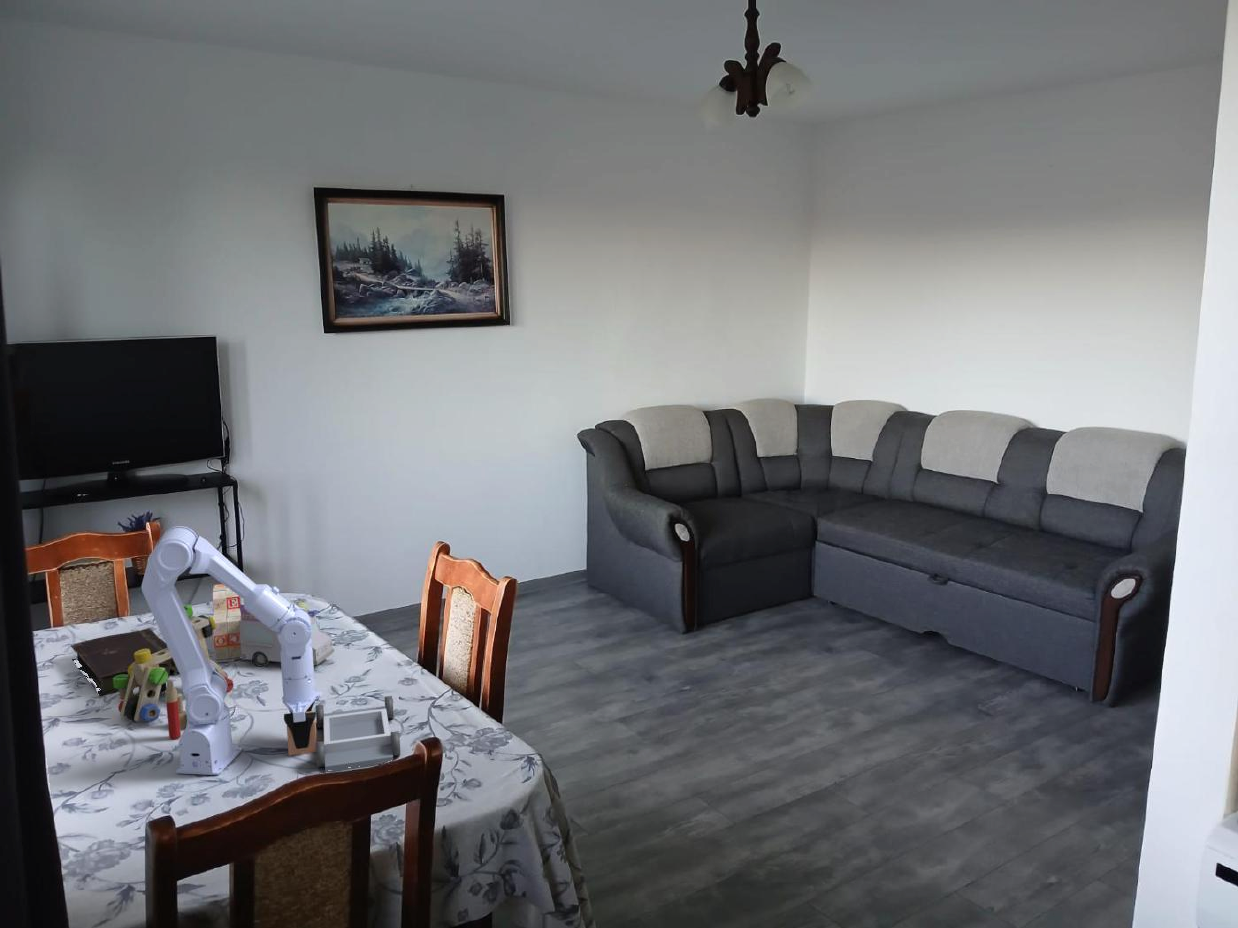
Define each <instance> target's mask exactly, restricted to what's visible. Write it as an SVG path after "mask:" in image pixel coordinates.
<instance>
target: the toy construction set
mask: <svg viewBox="0 0 1238 928" xmlns="http://www.w3.org/2000/svg"><path fill="white" fill-rule="evenodd" d="M183 606H184V608H185V611H186V613H187V615H188V618H189V620H190V622H191V624H192V627H193V629H194V631H195V633H196V636H197V638H198V640H199V642H200V645H201V647H202V649H203V651H204V654H205V656H206V658H207V660H208V661H209V662H211V663H212V664H213V666H214V668H215V670H216V671H217V672H218V673H219V674H220V675H222V676H223V677H224V678H225V680H226V682H227V692H226V694H228V693H230V692H232V690H233V689H234V686H235V685H234V681H233V680H232V679H231V678H229V677H228V675H227V672H226V671H224V669H223V668H222V667H220V665H219V664H218V663H216V662H215V661H214V660H212V659H211V658H210V654H209V652H208V646H207V643H206V639H208V638H210V637H212V635H213V634H214V629H215V628H216V624H215V621H214V620H213V616H206V615H204V614H200V615H197V616H196V615H194V611H193V608H192V605H191V604H183ZM134 657H135V661H136V662H133V663H132V665H130V666H129V668H128V675H129V676H130V679H129V676H128V675H126V674H121V675H117V676H115V677H114V678H113V685H114V688H116V689H119V692H118V696H119V697H118V698H119V700H120V702H119V703H118V707H117V708H118V711H119V713H120V714H119V716H120V717H125V718H126V719H127V720H129V721H130V722H133V723H139V722H147V723H151V722H155V721H156V720H158V719H159V718H160V717H159V716H160V714H161V709H160V708H159V707H158V703H159V697H161V696H162V694H163V693H164V692H165V694H164V695H165V704H166V706H165V707H166V716H167V726H168V738H169V740H171V741H173V740H174V741H175V740H178V739H180V737H181V735H182V733H181V730H185V729H186V726H187V714H186V711H185V710H184V704H183V695H182V693H181V692H178V690H177V689H176V688H175V682H174V680H173V679H170V678H169V677H168V673H167V672H166V671H165V668H162V667H159V663H161V662H165V663H166V664H167V665H169V668H170V669H171V670H174V671H177V673H179V671H178V669H177V667H176V664H175V662H174V660H173V658H172V656H171V653H170V651H169V649H168V647H167V648H165V649H163V650H161V651H158V652H156V653H154V654H152V655H151V653H150V650H149V649H142V650H139V651H137V652H135V653H134ZM127 686H128V687H127ZM137 686H138V687H137ZM126 687H127V690H126ZM136 688H138V691H137V692H136V693H135V691H134V690H135V689H136Z"/></svg>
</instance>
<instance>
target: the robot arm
mask: <svg viewBox="0 0 1238 928" xmlns="http://www.w3.org/2000/svg"><path fill="white" fill-rule="evenodd" d="M188 568H190V570H189V573H188V574H190V575H197V574H198V575H199V574H208V575H210V577H212V578H214V579H215V580H216V581H217V582H219V583H221V584H223V585H225V586H226V587H228V588H229V589H230V590H232V591H233V592H235V593H236V594H237V595H239V596H240V597H241V599H242V600H243V605H244V608H245V610H247V611H248V612H249V613H250V614H252V615H253V616H254V617H256V618H257V619H258V620H259V621H261V622H262V623H263V624H264V625H266V626H267V627H268V628H269V629H271V630H273V631H276V632H278V635H277V637H278V640H279V642H280V643H281V649H282V650H281V653H280V656H281V662H280V666H281V667H280V668H281V683H282V698H281V699H282V704H283V705H284V706H285V707H286V708H287V709H288V710H289V713H288V712H287V713H284V714H283V720H284V723H285V725H286V727H287V726H288V727H289V729H290V731H291V733H292V736H293V740H294V743H295V746H296V748H297V749H301V748H307V747H308V745H309V739H310V731H311V727H312V724H313V721H314V720H315V721H316V711H315V712H310V711H313V708H314V705H315V702H316V700H319V699H322V697H323V696H322V695H323V693H322V692H323V691H321V690H318V691H317V690H316V683H315V668H314V666H315V665H313V650H312V647H311V645H312V642H311V639H310V638H311V636H312V631H311V619H310V616H309V615H308V613H307V612H308V611H307V612H306V611H305V609H303V608H300V607H298V606H297V605H296V604H297V603H294V604H292V603H291V602H289V601H288V600H287V599H286V598H285V597H283V596H282V595H281V594H280V589H279V588H278V587H276V586H275V585H273V586H272V587H271V586H269V584H265V583H263V584H260V583H259V584H256V583H255V582H254V581H253V580H252V579H251V578H249V577H248V576H247V575H246V574H245V573H244V572H242V571H241V570H240V569H239V568H238V567H237V566H236V565H235V564H234V563H233V562H231V560H229V559H228V558H227V557H225V556H224V555H223V554H222V553H221V552H220V551H219V550H218V549H217V548H215V546H213V545H212V544H211V542H209V541H208V540H207V539H205V538H204V537H203V536H200V535H199V537H198V535H197V533H196V532H195V531H194V530H193V529H191V528H190V527H187V526H182V525H176V526H172V527H171V528H169V529H167V530H165V531H164V533H163V534H162V536H161V537H160V538H159V540H158V541H157V542H156V544H155V545H154V548H153V550H152V552H151V553H150V554H149V556H148V557H147V563H146V568H145V572H144V576H143V578H142V583H141V591H142V594H143V595H144V598H145V600H146V603H147V605H148V607H149V610H150V611H151V614H152V615H153V618H154V620H155V623H156V624H157V627H158V629H159V631H160V634H161V636H162V638H163V641H164V642H165V643H166V645H167V647H168V649H169V651H170V653H171V656H172V658H173V660H174V662H175V664H176V667H177V669H178V671H179V672H178V673H179V675H180V679H181V688H182V693H183V695H184V698H185V707H184V708H185V710H184V711H186V714H187V726H186V728H185V729H184V731H183V732H182V733H181V736H180V738H178V739H179V740H178V750H179V759H180V766H179V767H178V769H176V773H177V774H183V775H184V774H187V775H204V776H205V775H207V776H208V775H209V776H212V775H213V776H219V775H220V774H221V773H222V772H223V771H224V770H225V769H226V768H227V766H229V765H230V763H231V762H232V761H234V760H235V758H236V757H237V756H238V755H239V754H240V753H241V752H242V751H243V748H242V747H241V746H233V740H232V739H233V738H232V727H231V712H230V707H229V706H228V705H227V704H226V703H225V698H226V695H227V693H226V692H227V682H226V680H225V678H224V677H223V676H222V675H220V674H219V673H218V672H217V671H216V670H215V668H214V666H213V664H212V663H211V662H209V661H208V660H207V658H206V656H205V654H204V651H203V649H202V647H201V645H200V642H199V640H198V638H197V636H196V633H195V631H194V629H193V627H192V624H191V622H190V620H189V618H188V615H187V613H186V611H185V608H184V606H183V605H184V604H183V602H182V600H181V597H180V595H179V593H178V591H177V588H176V586H175V583H176V582H177V580H178V578H179V576H180V575H182V574H183V573H184V572H185V571H186V570H187V569H188ZM306 712H310V713H306Z"/></svg>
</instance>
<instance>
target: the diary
mask: <svg viewBox="0 0 1238 928" xmlns="http://www.w3.org/2000/svg"><path fill="white" fill-rule="evenodd" d="M70 647H71V648H72V650H74V652H75V653H76V656H75V657H76V658H71V661H72V662H73V661H74V660H76V659H78V661H79V663H80V664H81V665H82V667H80V668H77V670H78V669H79V670H82V671H84V672H85V673H87V674H88V676H89V678H92V679H93V681H94V682H95V683H96V685H97V687H96V688H100V689H101V690H100V689H99V690H100V691H98V694H99V695H98V694H97V695H98V696H99V697H100V696H101V697H104V696H109V695H113V694H117V693H119V689H116V688H114V685H113V678H114V677H115V676H117V675H121V674H126V675H128V668H129V666H130V665H132V663H133V662H136V661H135V657H134V653H135V652H137V651H139V650H142V649H149V650H150V653H151V655H152V654H154V653H156V652H158V651H161V650H163V649H165V648H167V645H166V642H165V640H162V639H161V638H160V637H158V635H157V634H156V633H155V632H154V631H153V630H152V628H150V627H149V628H143V629H141V630H134V631H130V632H123V633H116V634H111V635H107V636H105V635H104V636H100V637H96V638H93V639H88V640H85V641H80V642H76V643H73V644H71V645H70ZM75 664H76V663H75ZM75 664H74V665H75ZM159 667H162V668H165V671H166V672H167V673H168V678H169V677H170V676H172V677H175V676H176V675H177V673H178V672H177V671H174V670H171V669H170V668H169V665H167V664H166V663H165V662H161V663H159ZM79 670H78V671H79ZM84 676H85V675H83V677H84ZM128 676H129V675H128ZM85 677H87V676H85ZM85 677H84V678H85ZM87 678H88V677H87ZM87 678H85V680H87ZM129 679H130V676H129ZM127 687H128V686H127ZM127 687H126V691H127ZM136 688H139V687H138V686H137V687H136Z"/></svg>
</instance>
